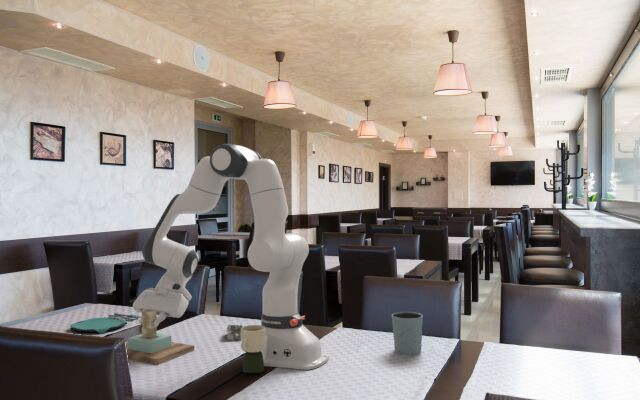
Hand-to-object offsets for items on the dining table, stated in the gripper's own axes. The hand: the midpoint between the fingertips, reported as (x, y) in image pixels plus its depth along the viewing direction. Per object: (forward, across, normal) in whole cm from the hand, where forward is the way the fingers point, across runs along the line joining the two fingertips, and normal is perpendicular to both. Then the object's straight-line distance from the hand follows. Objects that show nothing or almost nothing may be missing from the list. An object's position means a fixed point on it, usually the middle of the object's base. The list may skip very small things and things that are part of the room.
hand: (147, 324), depth 171 cm
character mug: (+7, +42, +6) cm, 43 cm away
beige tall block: (+4, 0, +5) cm, 6 cm away
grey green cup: (-21, +76, +34) cm, 86 cm away
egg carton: (-13, +15, +27) cm, 34 cm away
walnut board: (+6, 0, +7) cm, 9 cm away
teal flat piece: (-7, -43, +22) cm, 48 cm away
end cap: (+5, 0, +6) cm, 8 cm away
